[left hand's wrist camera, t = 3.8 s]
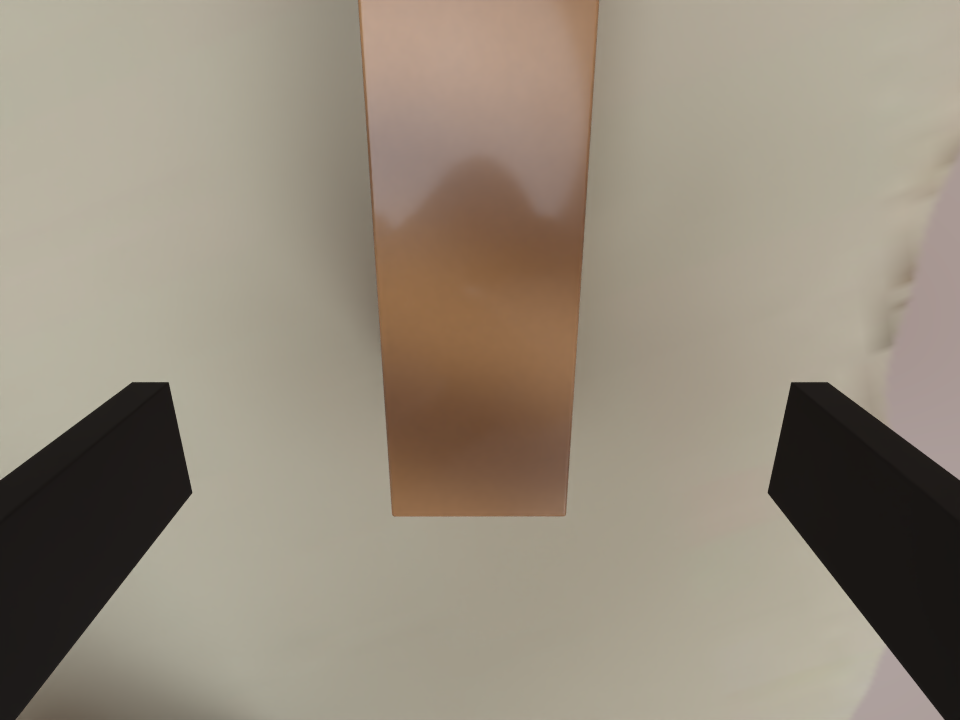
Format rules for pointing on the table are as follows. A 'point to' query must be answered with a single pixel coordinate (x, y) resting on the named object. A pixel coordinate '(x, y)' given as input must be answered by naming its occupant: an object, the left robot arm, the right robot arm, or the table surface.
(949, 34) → the table surface
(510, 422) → the bar
